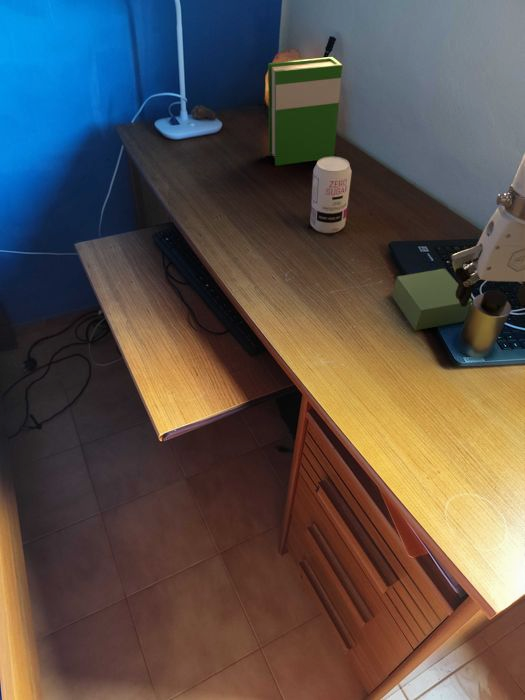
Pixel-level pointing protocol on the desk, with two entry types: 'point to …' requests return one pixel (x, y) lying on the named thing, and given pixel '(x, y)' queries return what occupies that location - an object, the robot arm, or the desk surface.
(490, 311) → the flask
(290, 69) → the hardback book
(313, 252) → the desk surface
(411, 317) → the block
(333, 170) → the supplement can
